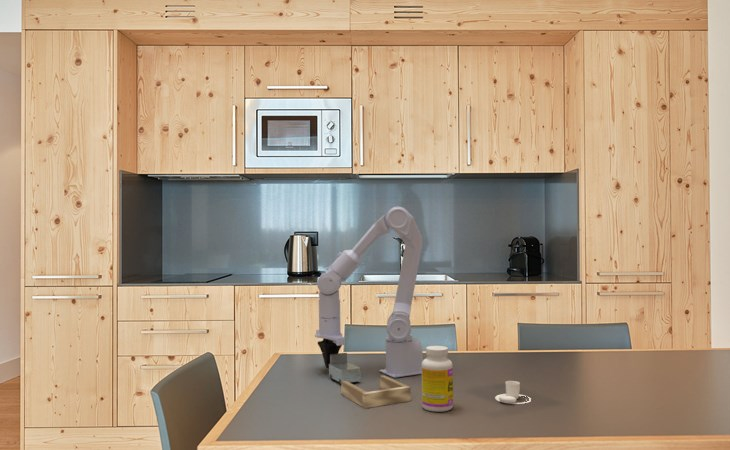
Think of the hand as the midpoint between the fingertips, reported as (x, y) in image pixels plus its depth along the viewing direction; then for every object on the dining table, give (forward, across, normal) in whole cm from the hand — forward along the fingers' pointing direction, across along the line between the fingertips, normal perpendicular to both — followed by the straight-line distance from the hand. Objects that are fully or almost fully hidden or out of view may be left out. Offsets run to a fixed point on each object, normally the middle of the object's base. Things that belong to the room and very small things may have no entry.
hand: (330, 367), depth 156 cm
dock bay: (+1, +25, 0) cm, 25 cm away
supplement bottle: (+2, +39, +8) cm, 40 cm away
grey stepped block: (+1, +9, 0) cm, 9 cm away
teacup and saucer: (+2, +40, +24) cm, 47 cm away
